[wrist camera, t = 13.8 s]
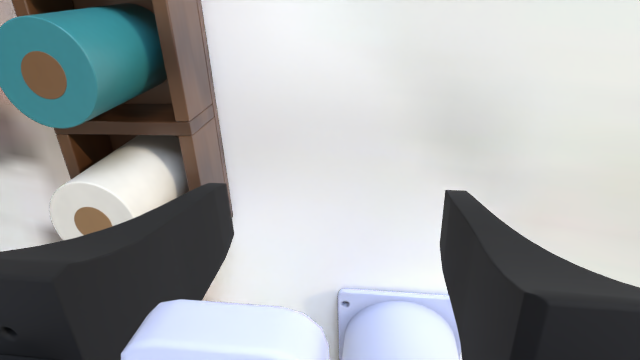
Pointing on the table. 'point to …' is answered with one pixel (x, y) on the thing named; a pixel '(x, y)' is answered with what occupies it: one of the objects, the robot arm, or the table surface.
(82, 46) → the paper roll
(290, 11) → the table surface
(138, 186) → the roll
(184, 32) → the rack
